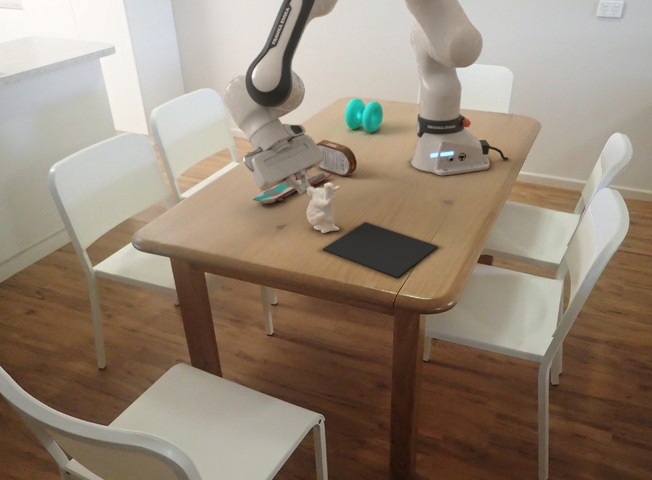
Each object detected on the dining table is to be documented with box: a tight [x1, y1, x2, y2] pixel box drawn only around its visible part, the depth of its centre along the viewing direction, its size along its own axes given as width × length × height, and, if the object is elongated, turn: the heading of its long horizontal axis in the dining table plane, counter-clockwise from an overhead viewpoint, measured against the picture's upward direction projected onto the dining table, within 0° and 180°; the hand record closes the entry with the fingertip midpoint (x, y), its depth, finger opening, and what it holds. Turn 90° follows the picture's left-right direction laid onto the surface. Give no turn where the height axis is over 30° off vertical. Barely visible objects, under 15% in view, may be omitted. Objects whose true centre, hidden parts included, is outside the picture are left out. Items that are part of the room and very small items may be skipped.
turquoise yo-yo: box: [344, 97, 384, 133], centre depth 192 cm, size 10×10×10 cm
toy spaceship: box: [252, 171, 334, 204], centre depth 154 cm, size 27×11×5 cm, turn 150°
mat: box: [322, 221, 439, 279], centre depth 127 cm, size 20×16×1 cm
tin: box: [316, 139, 358, 177], centre depth 162 cm, size 15×3×8 cm, turn 47°
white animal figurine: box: [305, 182, 341, 234], centre depth 132 cm, size 8×7×12 cm
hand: (306, 191), depth 134 cm, fingers closed
